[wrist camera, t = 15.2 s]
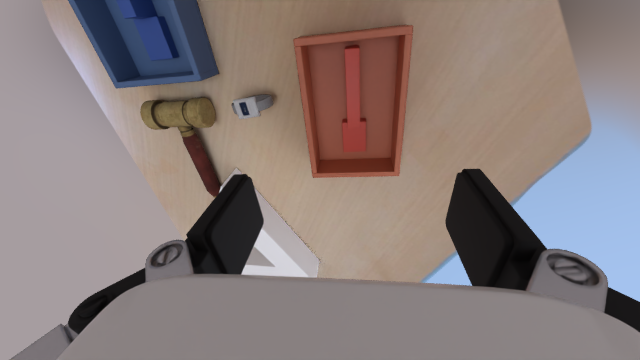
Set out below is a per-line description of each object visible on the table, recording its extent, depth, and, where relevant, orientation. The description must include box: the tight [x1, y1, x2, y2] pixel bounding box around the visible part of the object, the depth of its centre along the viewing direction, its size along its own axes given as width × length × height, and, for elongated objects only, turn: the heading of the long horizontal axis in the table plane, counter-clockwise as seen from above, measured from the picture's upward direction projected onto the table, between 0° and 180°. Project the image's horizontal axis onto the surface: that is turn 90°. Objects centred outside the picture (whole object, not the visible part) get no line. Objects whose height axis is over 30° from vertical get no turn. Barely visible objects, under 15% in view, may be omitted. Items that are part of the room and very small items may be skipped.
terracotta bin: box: [294, 25, 413, 178], centre depth 35 cm, size 20×14×5 cm
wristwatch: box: [232, 95, 273, 119], centre depth 36 cm, size 6×3×5 cm, turn 100°
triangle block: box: [219, 167, 319, 278], centre depth 53 cm, size 30×26×6 cm
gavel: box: [140, 97, 220, 198], centre depth 43 cm, size 21×5×10 cm
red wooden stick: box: [342, 45, 366, 152], centre depth 34 cm, size 15×4×4 cm, turn 6°
